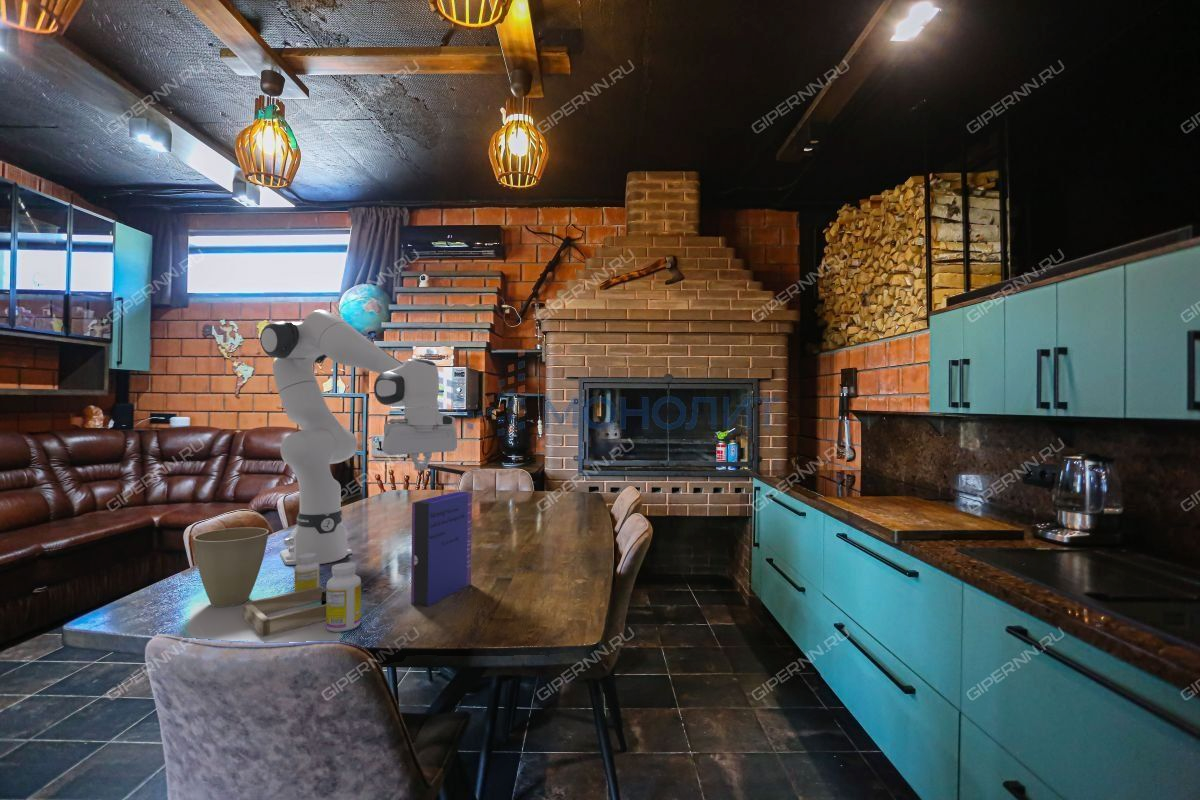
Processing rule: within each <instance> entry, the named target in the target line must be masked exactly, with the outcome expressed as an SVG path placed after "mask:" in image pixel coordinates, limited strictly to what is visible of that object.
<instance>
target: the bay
mask: <svg viewBox="0 0 1200 800" xmlns="http://www.w3.org/2000/svg"><path fill="white" fill-rule="evenodd" d="M322 592H324V586H322V585H320V586H319V587H314V588H310V589H305V590H301V591H296V592H295V591H293V592H287V593H283V594H279V595H274V596H270V597H264V598H260V599H256V600H255V599H254V600H251V601H245V602H243V603H242V617H243V619H245V620H246V621H247V622H248V623H249V624H250V625H251V626H252V627H253V628H254V629H255V630H256V631H257V632H258V633H259V634H260V635H261V636H262V637H266V636H269V635H273V634H276V633H281V632H284V631H288V630H292V629H296V628H300V627H303V626H307V625H311V624H315V623H318V622H322V621H326V604H324V605H321V604H320V606H319V605H316V606H312V607H308V608H305V609H304V608H303V609H300V610H296V611H291V612H288V613H283V614H280V615H278V614H277V615H275V616H274V615H273V616H272V617H268V616H266V615H265V614H268V613H273V612H276V611H281V610H287V609H291V608H294V607H299V606H302V605H307V604H311V603H315V602H319V601H320V602H321V596H322Z"/></svg>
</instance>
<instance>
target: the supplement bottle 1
mask: <svg viewBox="0 0 1200 800" xmlns="http://www.w3.org/2000/svg"><path fill="white" fill-rule="evenodd" d="M315 561H316V554H315V553H306V554H301V555H299V556H298V563H299V564H295V567H294V592H296V591H301V590H305V589H310V588H314V587H319V586H321V585H320V580H321V579H320V578H321V577H320V576H321V575H320V564H318V563H317V562H315Z"/></svg>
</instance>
